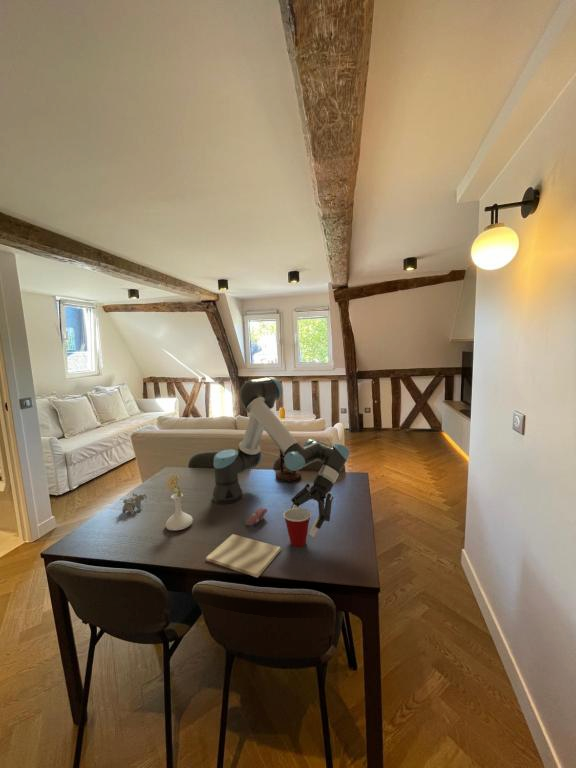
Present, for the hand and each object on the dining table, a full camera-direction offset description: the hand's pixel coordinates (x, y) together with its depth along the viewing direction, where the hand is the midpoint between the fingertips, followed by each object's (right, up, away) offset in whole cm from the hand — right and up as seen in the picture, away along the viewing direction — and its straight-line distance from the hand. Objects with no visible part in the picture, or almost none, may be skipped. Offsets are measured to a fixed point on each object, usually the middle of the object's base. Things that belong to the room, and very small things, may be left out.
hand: (299, 527), depth 126 cm
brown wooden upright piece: (-4, +1, +63) cm, 64 cm away
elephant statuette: (-78, -6, +34) cm, 85 cm away
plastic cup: (0, -6, +1) cm, 6 cm away
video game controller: (-18, -5, +18) cm, 26 cm away
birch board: (-20, -8, -5) cm, 22 cm away
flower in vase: (-51, -7, +16) cm, 54 cm away
